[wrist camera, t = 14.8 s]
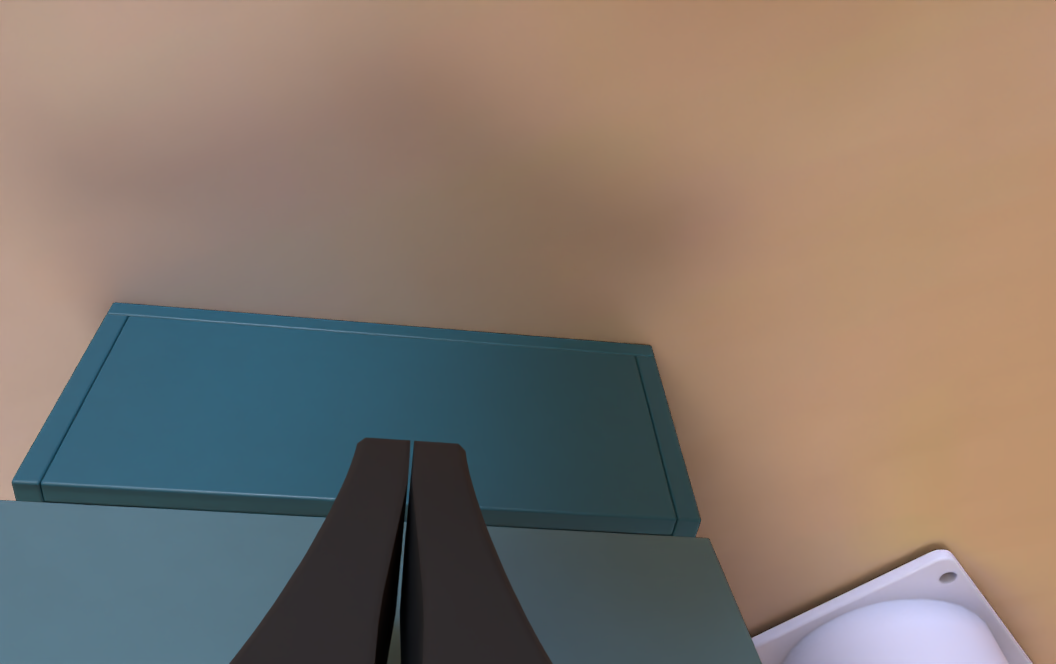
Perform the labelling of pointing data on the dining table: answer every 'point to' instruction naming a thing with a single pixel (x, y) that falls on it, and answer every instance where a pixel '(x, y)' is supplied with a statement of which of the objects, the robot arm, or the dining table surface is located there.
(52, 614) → the cool box flap
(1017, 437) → the dining table surface
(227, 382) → the teal box
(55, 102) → the dining table surface
